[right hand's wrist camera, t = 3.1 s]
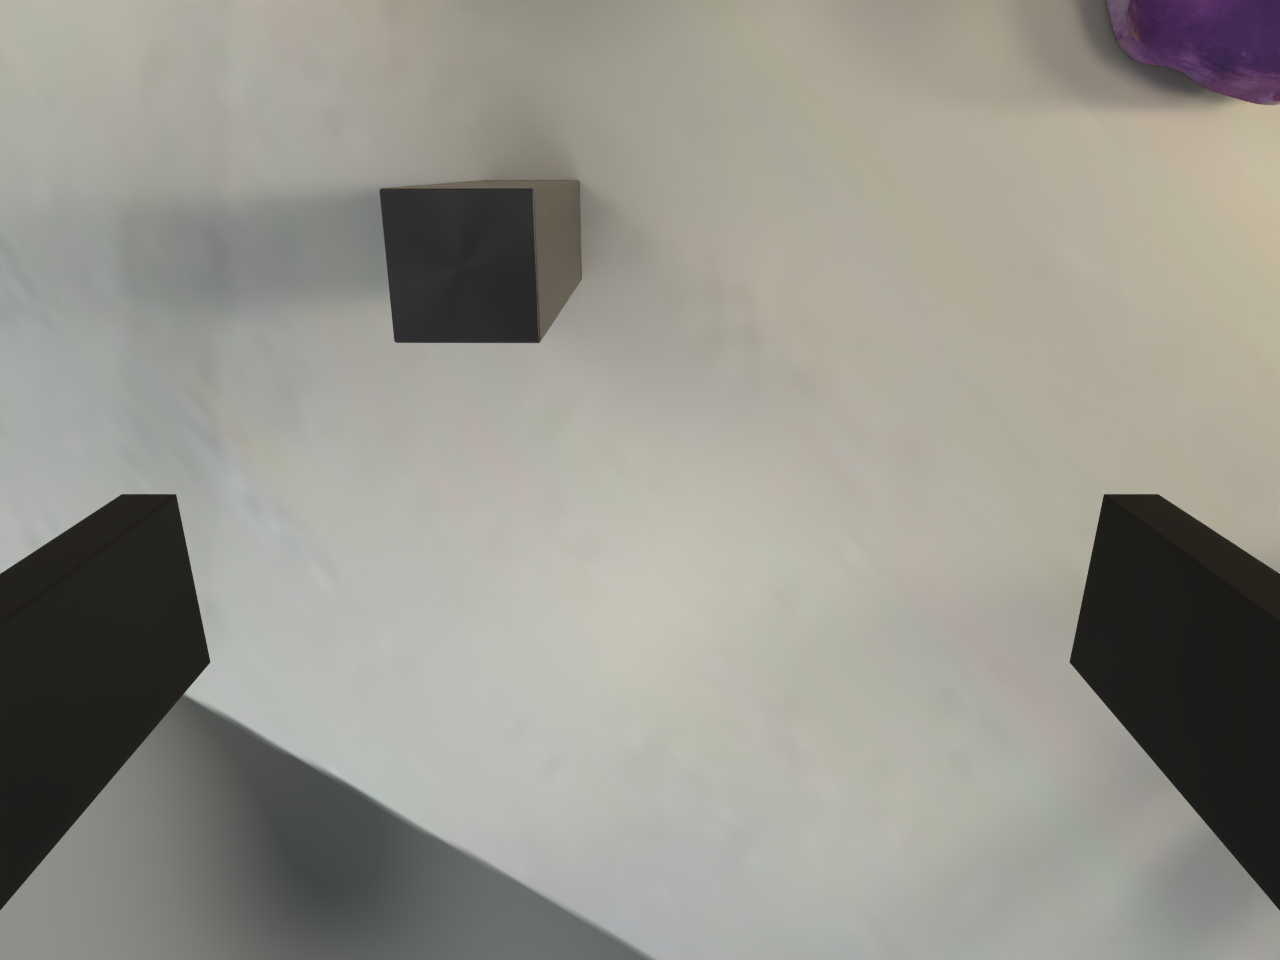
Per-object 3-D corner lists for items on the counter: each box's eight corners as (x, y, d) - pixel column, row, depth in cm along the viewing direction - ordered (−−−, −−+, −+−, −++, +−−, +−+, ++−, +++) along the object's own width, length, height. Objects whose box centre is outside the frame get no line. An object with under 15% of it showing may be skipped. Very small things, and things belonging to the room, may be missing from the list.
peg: (579, 180, 35) (533, 188, 22) (581, 279, 37) (540, 343, 23) (482, 180, 35) (378, 188, 22) (488, 279, 37) (394, 343, 24)
